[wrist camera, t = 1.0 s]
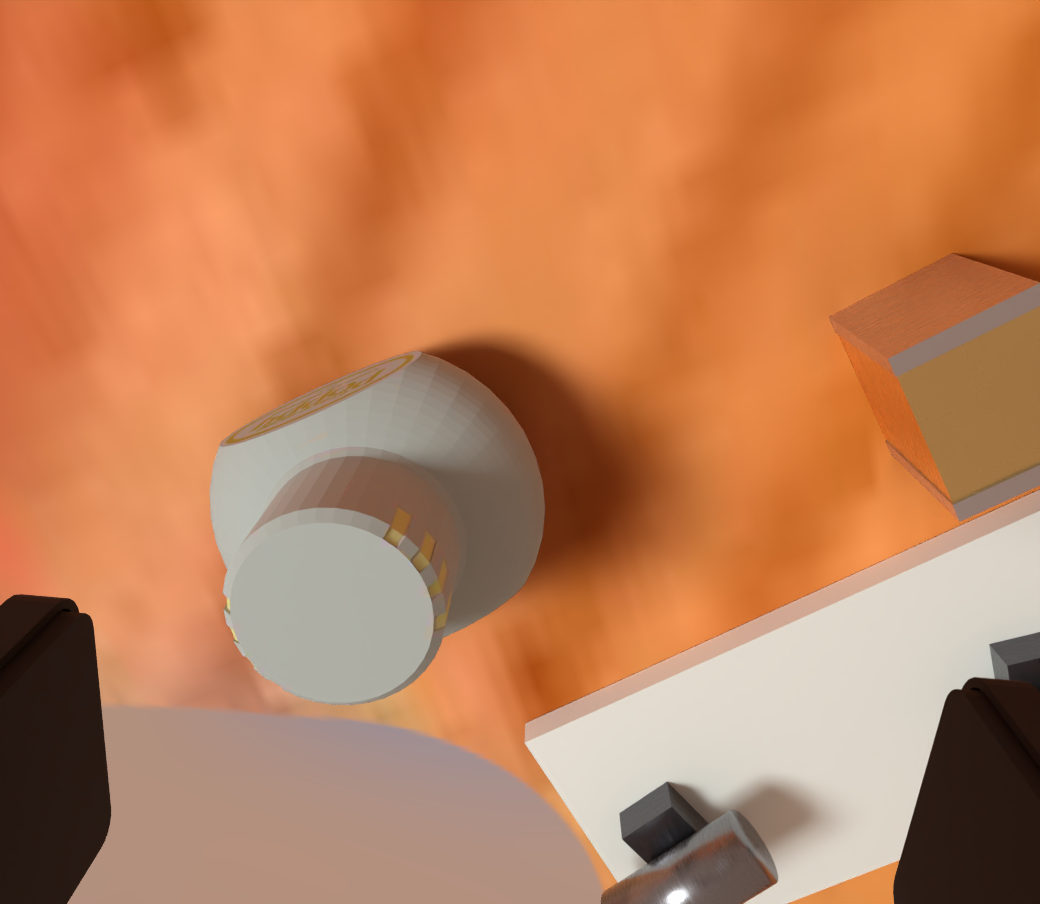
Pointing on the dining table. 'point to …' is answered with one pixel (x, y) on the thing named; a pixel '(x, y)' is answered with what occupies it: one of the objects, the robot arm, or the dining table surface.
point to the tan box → (954, 378)
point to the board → (806, 708)
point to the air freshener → (372, 526)
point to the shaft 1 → (690, 855)
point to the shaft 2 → (1017, 659)
